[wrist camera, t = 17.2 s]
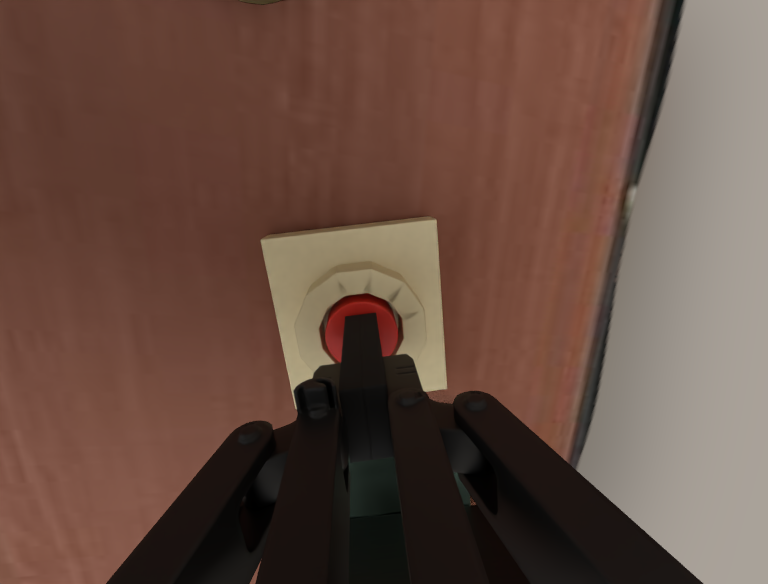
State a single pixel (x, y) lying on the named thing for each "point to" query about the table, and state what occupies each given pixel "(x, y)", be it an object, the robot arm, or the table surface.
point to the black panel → (389, 559)
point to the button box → (358, 290)
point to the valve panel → (380, 488)
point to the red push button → (356, 307)
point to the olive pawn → (260, 1)
